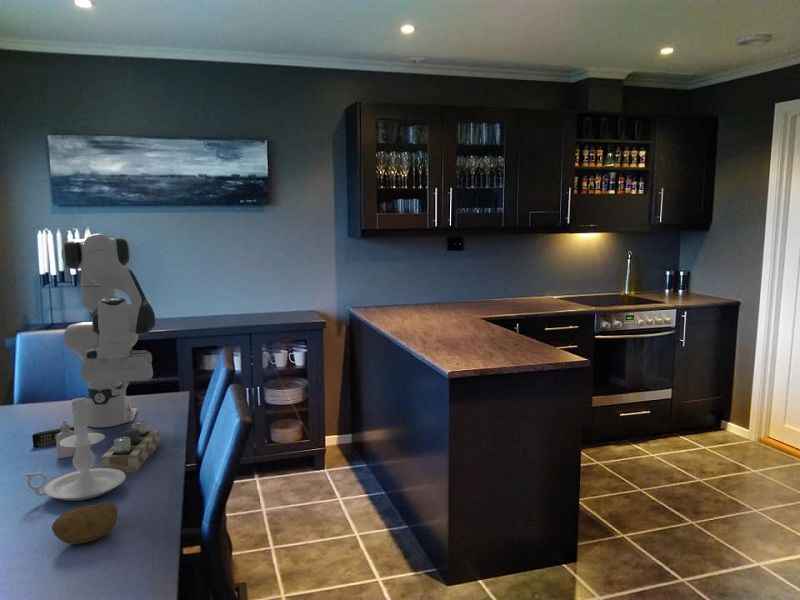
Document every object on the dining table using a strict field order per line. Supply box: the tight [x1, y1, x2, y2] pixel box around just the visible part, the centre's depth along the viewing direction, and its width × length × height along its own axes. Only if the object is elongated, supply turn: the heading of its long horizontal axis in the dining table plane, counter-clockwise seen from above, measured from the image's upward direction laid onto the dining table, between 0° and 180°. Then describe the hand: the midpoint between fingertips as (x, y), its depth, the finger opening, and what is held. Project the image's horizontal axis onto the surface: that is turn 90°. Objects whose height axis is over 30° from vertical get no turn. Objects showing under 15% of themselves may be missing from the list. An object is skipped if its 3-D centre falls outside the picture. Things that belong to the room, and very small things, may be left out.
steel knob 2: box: [131, 420, 148, 437], centre depth 209 cm, size 5×5×5 cm
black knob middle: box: [122, 428, 139, 446], centre depth 201 cm, size 5×5×5 cm
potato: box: [51, 502, 118, 545], centre depth 149 cm, size 10×14×8 cm
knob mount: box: [100, 429, 160, 473], centre depth 202 cm, size 24×10×5 cm, turn 5°
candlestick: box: [24, 397, 126, 502], centre depth 173 cm, size 21×25×28 cm
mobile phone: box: [31, 426, 76, 448], centre depth 217 cm, size 5×3×15 cm
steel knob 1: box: [113, 436, 131, 455], centre depth 193 cm, size 5×5×5 cm
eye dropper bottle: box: [55, 419, 76, 460], centre depth 204 cm, size 4×6×12 cm
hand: (119, 395), depth 191 cm, fingers closed
